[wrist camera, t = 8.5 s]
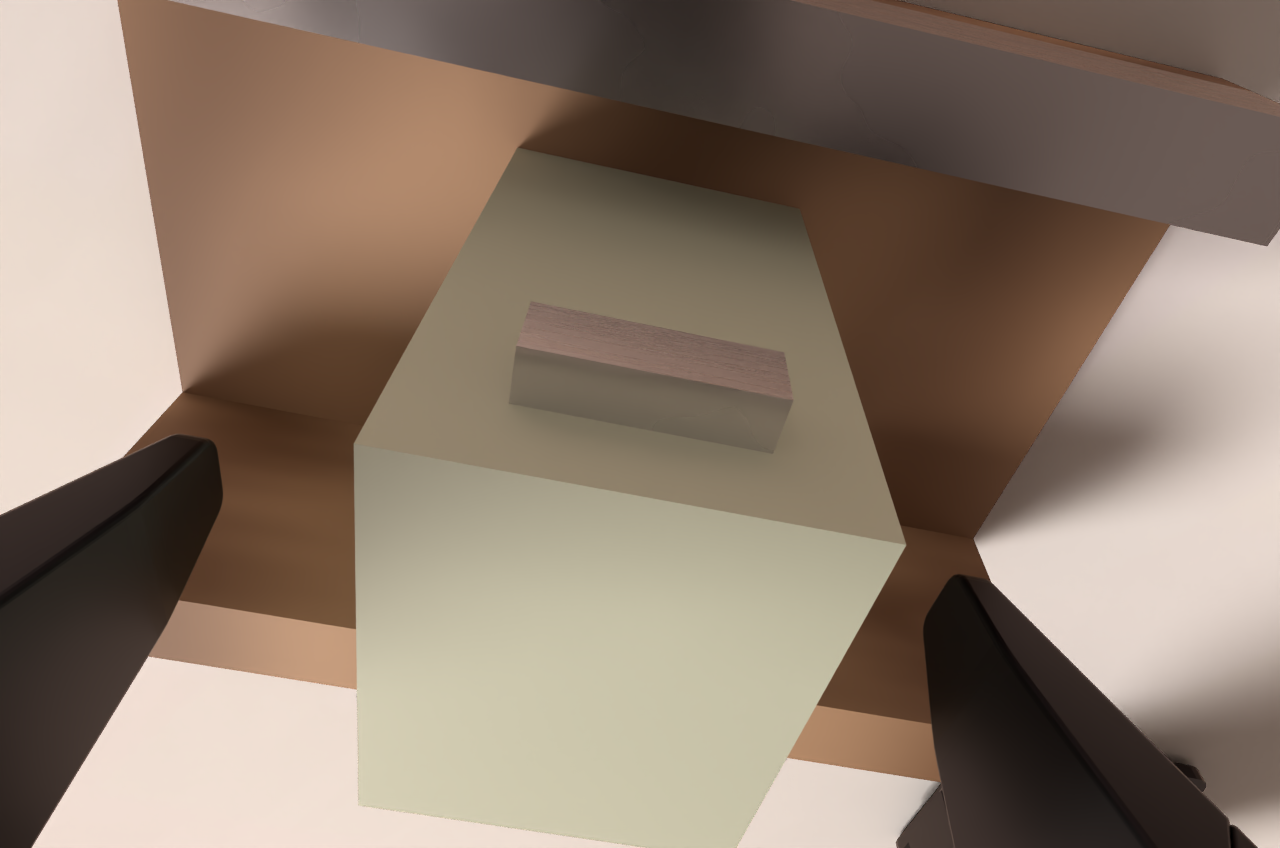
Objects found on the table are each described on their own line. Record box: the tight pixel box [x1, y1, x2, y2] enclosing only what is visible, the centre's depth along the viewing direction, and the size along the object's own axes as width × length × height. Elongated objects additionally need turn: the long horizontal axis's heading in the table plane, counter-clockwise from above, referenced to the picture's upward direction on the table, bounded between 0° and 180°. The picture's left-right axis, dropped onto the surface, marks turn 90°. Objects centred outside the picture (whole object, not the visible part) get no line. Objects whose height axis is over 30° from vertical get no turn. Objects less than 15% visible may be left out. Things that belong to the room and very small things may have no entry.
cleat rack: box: [118, 0, 1280, 782], centre depth 12 cm, size 16×10×6 cm, turn 79°
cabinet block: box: [354, 148, 906, 848], centre depth 11 cm, size 4×6×8 cm
